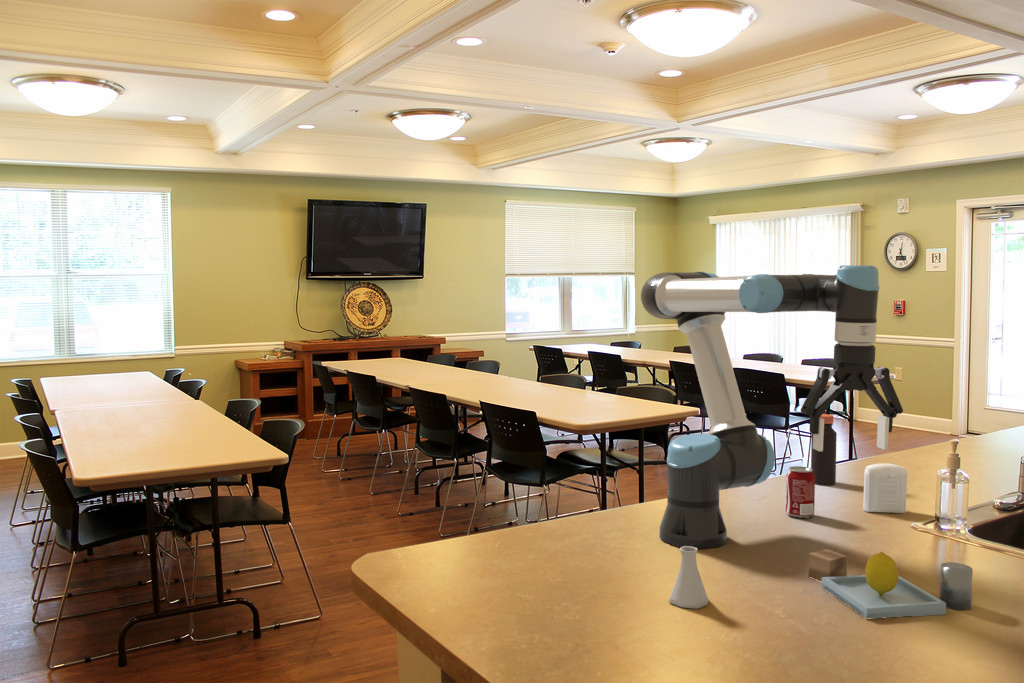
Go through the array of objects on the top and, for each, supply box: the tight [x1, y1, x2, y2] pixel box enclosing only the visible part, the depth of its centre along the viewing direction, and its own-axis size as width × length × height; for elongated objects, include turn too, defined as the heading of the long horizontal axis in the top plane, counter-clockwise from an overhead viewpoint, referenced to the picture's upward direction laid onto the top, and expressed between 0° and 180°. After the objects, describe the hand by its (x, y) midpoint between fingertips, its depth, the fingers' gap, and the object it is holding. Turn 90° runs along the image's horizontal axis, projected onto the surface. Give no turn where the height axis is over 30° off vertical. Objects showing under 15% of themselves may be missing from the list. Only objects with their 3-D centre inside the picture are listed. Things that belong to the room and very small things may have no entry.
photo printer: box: [862, 462, 908, 514], centre depth 203 cm, size 10×4×12 cm, turn 84°
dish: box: [821, 574, 947, 620], centre depth 146 cm, size 15×15×2 cm
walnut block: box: [808, 548, 848, 582], centre depth 157 cm, size 5×5×5 cm
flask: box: [668, 546, 709, 609], centre depth 146 cm, size 7×7×10 cm
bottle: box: [810, 413, 837, 486], centre depth 233 cm, size 7×7×20 cm
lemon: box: [864, 551, 899, 595], centre depth 146 cm, size 6×6×8 cm
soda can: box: [785, 465, 816, 519], centre depth 200 cm, size 7×7×12 cm
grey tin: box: [939, 561, 974, 611], centre depth 144 cm, size 5×5×7 cm
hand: (850, 449), depth 159 cm, fingers open, 13 cm apart
